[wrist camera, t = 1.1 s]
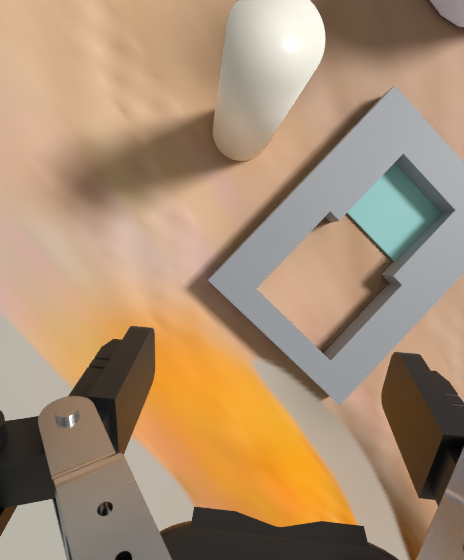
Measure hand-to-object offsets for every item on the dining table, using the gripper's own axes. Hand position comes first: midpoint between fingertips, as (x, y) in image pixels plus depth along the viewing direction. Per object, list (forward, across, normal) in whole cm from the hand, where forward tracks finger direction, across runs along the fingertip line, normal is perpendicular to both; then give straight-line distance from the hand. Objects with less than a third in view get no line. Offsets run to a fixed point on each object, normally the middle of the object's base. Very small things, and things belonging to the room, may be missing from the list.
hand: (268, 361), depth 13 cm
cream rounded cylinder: (+21, +2, -6) cm, 22 cm away
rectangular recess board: (+19, -8, +2) cm, 21 cm away
